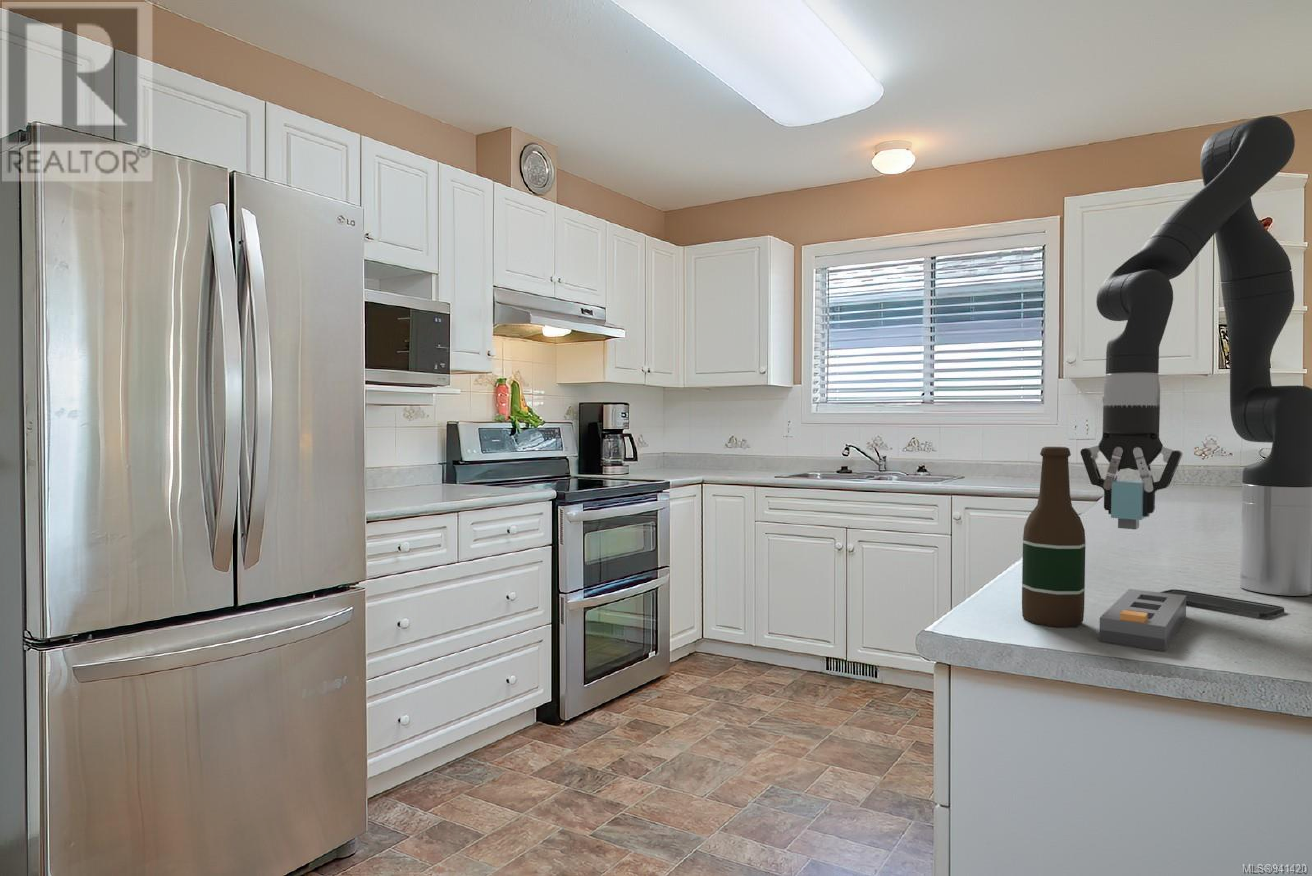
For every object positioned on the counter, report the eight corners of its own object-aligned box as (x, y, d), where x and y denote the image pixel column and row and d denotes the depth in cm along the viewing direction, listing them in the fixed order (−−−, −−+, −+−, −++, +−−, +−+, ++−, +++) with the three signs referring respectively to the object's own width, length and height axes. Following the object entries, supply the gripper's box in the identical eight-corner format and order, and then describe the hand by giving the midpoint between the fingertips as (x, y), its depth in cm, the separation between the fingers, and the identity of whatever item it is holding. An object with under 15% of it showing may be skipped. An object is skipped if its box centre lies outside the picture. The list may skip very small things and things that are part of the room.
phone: (1174, 588, 129) (1287, 607, 117) (1174, 595, 129) (1286, 614, 117) (1149, 594, 125) (1263, 614, 112) (1149, 601, 125) (1263, 622, 112)
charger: (1116, 525, 127) (1117, 480, 127) (1146, 527, 125) (1147, 481, 125) (1110, 528, 124) (1111, 481, 123) (1140, 530, 121) (1142, 483, 121)
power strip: (1129, 609, 118) (1129, 583, 118) (1185, 616, 114) (1186, 589, 114) (1099, 641, 101) (1099, 611, 101) (1164, 651, 97) (1165, 620, 97)
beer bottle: (1079, 616, 114) (1082, 446, 113) (1089, 630, 106) (1092, 448, 106) (1018, 612, 116) (1021, 445, 115) (1024, 625, 109) (1027, 447, 108)
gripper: (1189, 403, 122) (1186, 516, 123) (1084, 404, 131) (1082, 509, 132) (1183, 402, 116) (1180, 521, 117) (1074, 403, 125) (1072, 513, 126)
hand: (1128, 514), depth 124 cm, fingers closed on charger, 4 cm apart
